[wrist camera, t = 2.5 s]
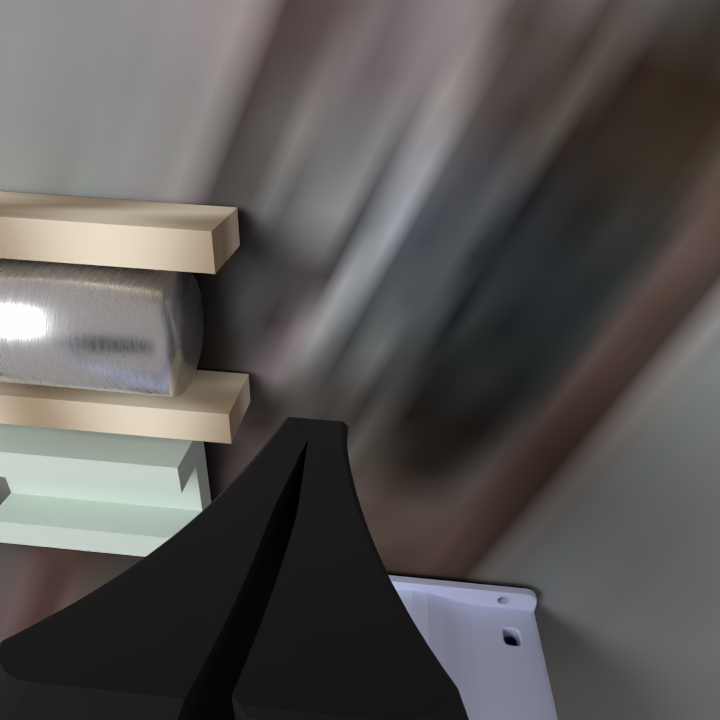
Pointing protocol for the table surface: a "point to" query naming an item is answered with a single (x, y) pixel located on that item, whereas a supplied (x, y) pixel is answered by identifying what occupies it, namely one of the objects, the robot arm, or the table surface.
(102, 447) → the v block
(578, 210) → the table surface
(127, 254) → the parallel rails
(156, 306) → the axle
